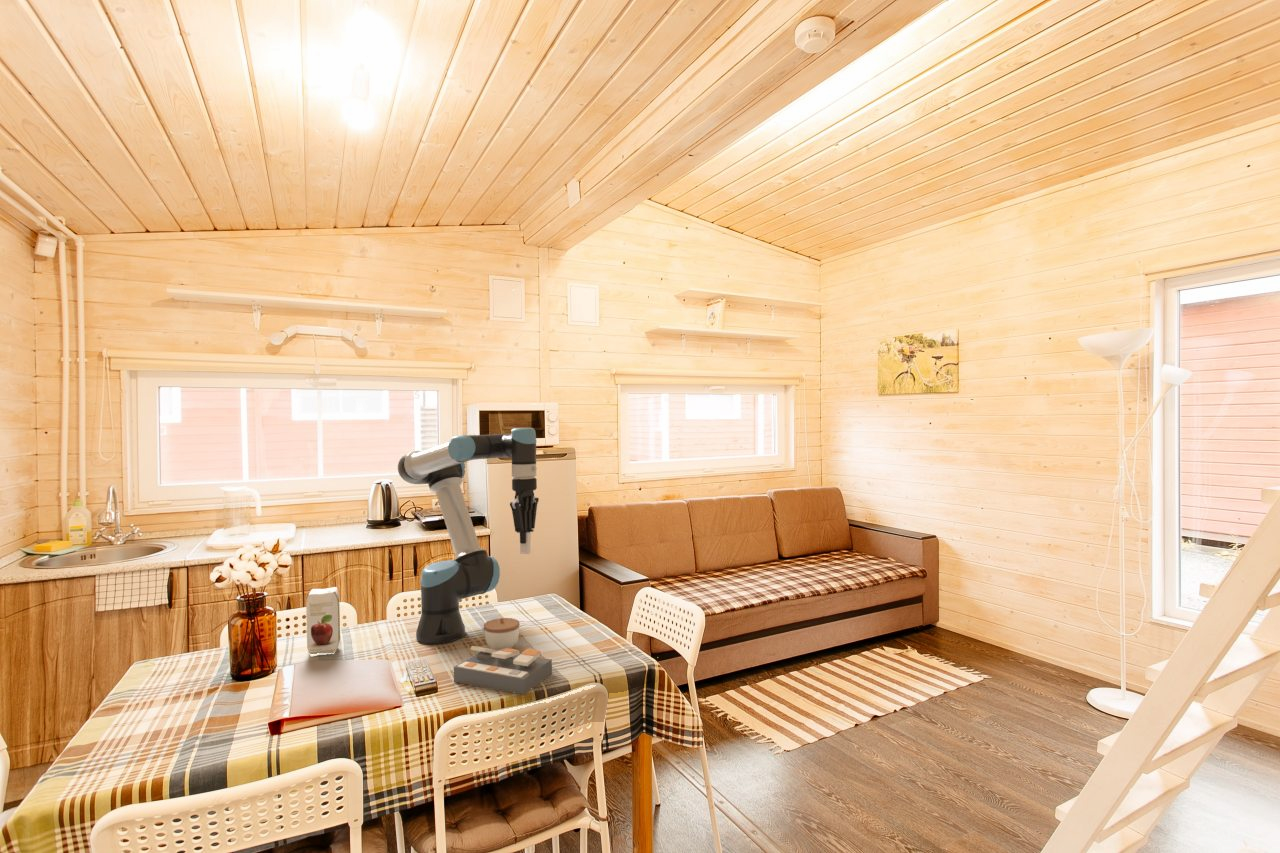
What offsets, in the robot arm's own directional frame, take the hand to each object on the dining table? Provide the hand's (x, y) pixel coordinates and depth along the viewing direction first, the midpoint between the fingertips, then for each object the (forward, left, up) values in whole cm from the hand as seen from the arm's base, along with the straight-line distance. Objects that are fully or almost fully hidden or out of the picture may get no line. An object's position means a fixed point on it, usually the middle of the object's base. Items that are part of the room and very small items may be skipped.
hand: (525, 553), depth 196 cm
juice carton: (-54, -28, -29) cm, 67 cm away
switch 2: (+8, -23, -23) cm, 33 cm away
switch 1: (+1, -23, -23) cm, 32 cm away
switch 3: (+15, -23, -23) cm, 36 cm away
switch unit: (+8, -24, -28) cm, 38 cm away
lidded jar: (-5, -6, -29) cm, 30 cm away
